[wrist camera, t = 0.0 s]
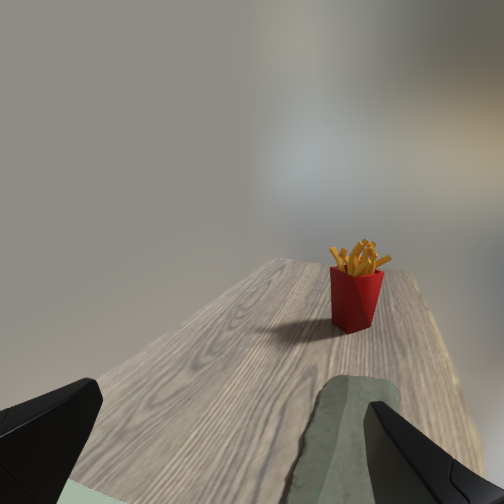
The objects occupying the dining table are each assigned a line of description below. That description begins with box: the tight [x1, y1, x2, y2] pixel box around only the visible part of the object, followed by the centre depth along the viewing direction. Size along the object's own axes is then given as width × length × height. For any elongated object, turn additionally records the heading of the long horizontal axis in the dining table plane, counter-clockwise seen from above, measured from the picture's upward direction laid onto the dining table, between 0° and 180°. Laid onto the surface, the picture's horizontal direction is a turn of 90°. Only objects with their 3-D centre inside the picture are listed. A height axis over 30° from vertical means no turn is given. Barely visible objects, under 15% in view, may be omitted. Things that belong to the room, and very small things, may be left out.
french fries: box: [330, 239, 391, 334], centre depth 44 cm, size 9×8×15 cm
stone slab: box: [285, 375, 400, 504], centre depth 21 cm, size 22×3×10 cm
